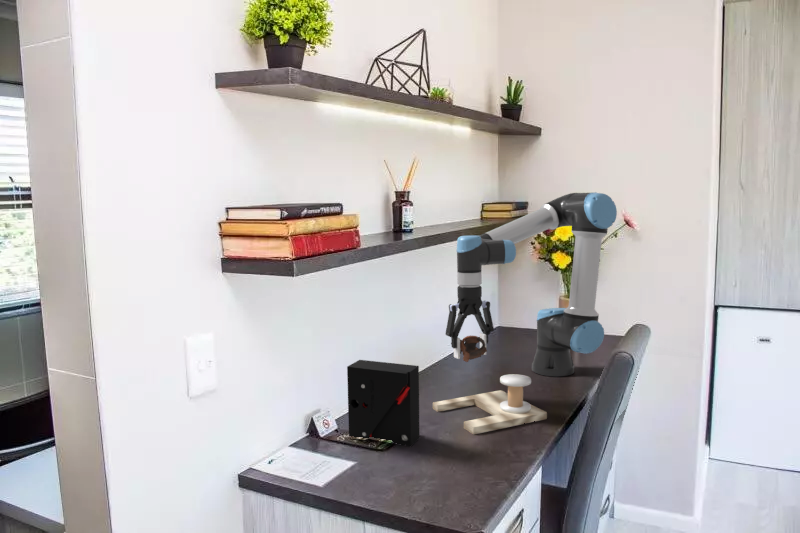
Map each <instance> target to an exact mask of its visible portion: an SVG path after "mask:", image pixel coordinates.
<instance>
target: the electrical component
mask: <svg viewBox="0 0 800 533" xmlns="http://www.w3.org/2000/svg"><path fill="white" fill-rule="evenodd" d="M346 370H347V372H346V375H347V409H348V410H347V411H348V412H347V416H348V437H349V436H354V437H363V438H369V437H374V438H380V439H386V440H392V441H393V442H394V443H397V444H401V445H400V446H404V445H406V446H405V447H410V446H411V445H412V444H413V445H414V444H415V443H416V442H417V441H418V440H419V439H420V378H419V377H420V374H419V373H420V366H419V365H415V364H414V365H413V364H404V363H395V362H394V363H393V362H384V361H376V360H375V361H374V360H365V359H359V360H357V361H355V362H353V363H351V364H349V365H348V366H346ZM397 444H396V445H397ZM413 445H412V446H413ZM412 446H411V447H412Z"/></svg>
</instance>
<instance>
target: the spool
mask: <svg viewBox="0 0 800 533" xmlns="http://www.w3.org/2000/svg"><path fill="white" fill-rule="evenodd" d="M499 383H500V384H501V385H504V386H506V387H507V393H508V400H507V401H503V402H501V403H500V409H501V410H502V411H504V412H507V413H514V414H521V413H527V412H529V411H530V410H531V405H532V404H531V405H530V402H527V401H526V400H524V387H528V386H530V385H531V384H532V378H531V377H530V376H528V375H524V374H516V373H515V374H513V373H511V374H504V375H501V376H500V377H499Z"/></svg>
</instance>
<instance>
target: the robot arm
mask: <svg viewBox="0 0 800 533" xmlns="http://www.w3.org/2000/svg"><path fill="white" fill-rule="evenodd" d="M617 213H618V211H617V205H616V203H615V202H614V201H613V198H612V197H610V196H609V195H608V194H606V193H604V192H603V193H601V192H596V191H595V192H570V193H567V194H565V195H561V196H560V197H557V198H555V199H552V200H550V201H548V202H546V203H543V204H542V205H541V206H540V208H539V209H537V210H535V211H532V212H530V213H527V214H526V215H524V216H521V217H519V218H516V219H514V220H512V221H510V222H507V223H505V224H502V225H501V226H499V227H498V226H497V227H495V228H494V229H491V230H489V231H487V232H484V233H482V234H479V235H475V234H474V235H471V234H470V235H461V236H459V237H458V238H457V240H456V242H457V243H456V266H457V267H456V268H457V275H456V277H457V285H458V286H457V287H456V288H457V289H456V290H457V292H456V293H457V302H456V303H454V304H451V303H450V304H449V305H448V311H449V312H448V317H447V323H446V329H445V336H447V337H450V339H451V341H450V344H451V348H452V349H453V348H454V349H453V357H454V358H455V359H457V360H460V359H461V354H460V340H461V338H460V337H458V336H459V334H460V332H461V330H462V328H463V325H464V322H465V320H466V319H467V317H468V316H471V315H473V316H474V318H475V320H476V322H477V324H478V326H479V328H480V330H481V332H479V337H480V338H482V339H483V340H484V342H485V347H486V348H487V344H489V335H491V332H494V331H495V329H494V323H493V318H492V314H491V309H490V308H491V301H488V300H482V289H483V288H482V283H483V282H482V281H483V280H482V271H483V270H482V269H483V268H482V266H490V265H491V266H492V265H505V264H511V263H512V262H514V261H515V259H516V256H517V247H516V245H515V244H518V243H520V242H522V241H525V240H526V239H529V238H531V237H533V236H536V235H538V234H541V233H542V232H545V231H547V230H556V229H558V228H562V227H571V233H572V234H573V236H574V237H575V240H574V248H573V261H572V270H571V278H570V279H571V280H570V288H569V289H570V290H569V299H568V300H569V301H568V306H567V307H553V308H552V307H551V308H550V307H549V308H543V309H540V310H538V312H537V316H536V351H535V353H534V354H535V355H534V357H533V361H532V362H531V371H532V373H535V374H538V375H540V376H547V377H567V376H568V377H569V376H571V375H573V374H574V373H575V363H574V360H573V356H572V354H571V351H573V352H575V353H581V354H585V355H586V354H587V355H588V354H591V353H594V352H595V351H596V350H597V349H599V348H600V346H601V345H602V344H603V341H604V338H605V330H604V327H603V325H602V324H601V323H600V322H599V315H600V314H599V313H598V312H597V310H596V308H595V307H596V299H597V290H598V280H599V273H600V272H599V271H600V270H599V269H600V261H601V253H602V252H601V249H602V242H603V241H602V240H603V238H605V236H607V235H608V229H609V228H610V227H612V226H613V224H614V223H615V222H616V221H617V220H616V219H617ZM481 308H482V312H483V314H482V312H481V310H480V309H481ZM458 310H459V311H458ZM457 311H458V314H457ZM482 315H483V316H482ZM481 347H482V343H481V342H479V349H480V348H481ZM482 356H487V352H485V353H484V354H483V355H482Z"/></svg>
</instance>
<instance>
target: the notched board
mask: <svg viewBox="0 0 800 533" xmlns="http://www.w3.org/2000/svg"><path fill="white" fill-rule="evenodd" d="M507 400H508V392H505V391H504V390H500V389H499V390H495V391H488V392H483V393H478V394H477V393H476V394H472V395H467V396H466V395H465V396H462V397H456V398H449V399H444V400H438V401H433V402H432V409H433V410H434V411H436V413H437V412H444V411H450V410H455V409H459V408H464V407H469V406H475V407H478V408H479V409H481V410H482V411H484V412H486V413H488V414H490V416H489V415H488V416H485V417H480V418H475V419H471V420H465V421H463V429H464V430H466V431H467V432H469V433H470V434H472V435H477V434H482V433H487V432H492V431H496V430H501V429H502V430H503V429H506V428H510V427H515V426H520V425H525V424H529V423H534V421H535V422H539V421H545V420H547V418H548V413H547V411H546V410H543V409H541V408H538V407H537V406H535V405H532V404H530V403H529V404H530V405H531V410H530V411H529V412H527V413H521V414H514V413H507V412H504V411H502V410H501V409H500V403H501V402H503V401H507ZM524 423H525V424H524Z"/></svg>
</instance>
